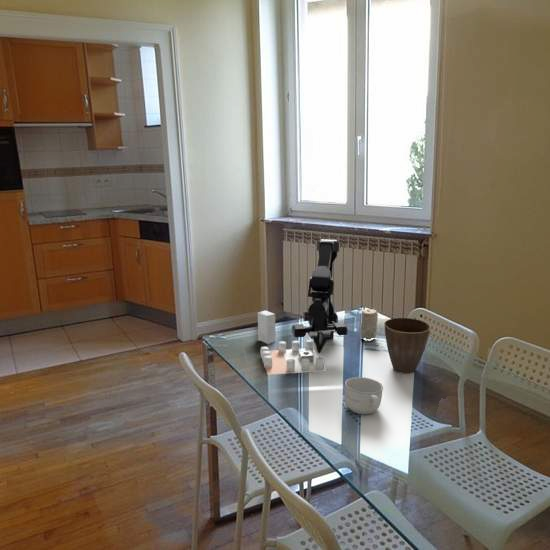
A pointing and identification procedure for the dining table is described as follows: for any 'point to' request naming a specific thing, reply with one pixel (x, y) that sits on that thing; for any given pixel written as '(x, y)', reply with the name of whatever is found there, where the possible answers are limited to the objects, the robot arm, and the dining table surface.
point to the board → (290, 359)
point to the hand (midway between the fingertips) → (318, 352)
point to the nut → (306, 355)
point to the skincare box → (266, 327)
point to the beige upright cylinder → (368, 324)
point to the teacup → (363, 394)
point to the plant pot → (406, 342)
